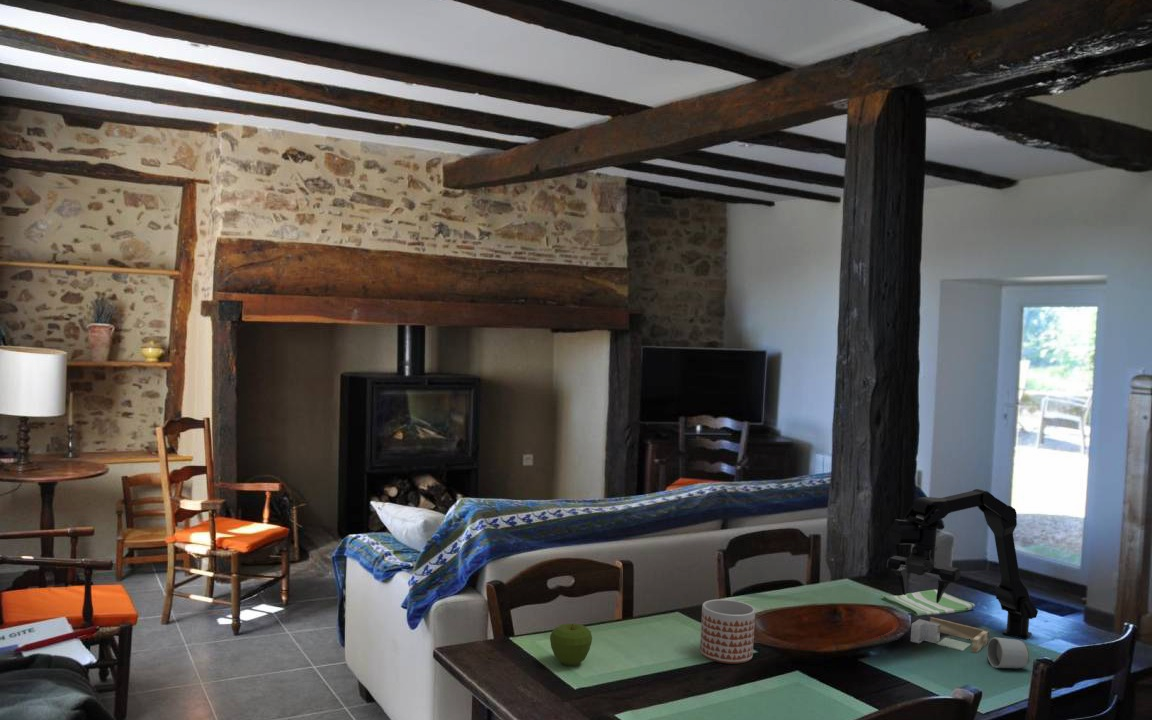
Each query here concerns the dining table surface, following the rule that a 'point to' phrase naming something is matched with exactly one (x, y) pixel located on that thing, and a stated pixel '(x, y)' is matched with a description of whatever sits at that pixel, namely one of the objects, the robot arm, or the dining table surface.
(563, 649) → the apple
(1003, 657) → the ceramic mug
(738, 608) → the planter
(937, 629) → the bracket
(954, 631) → the corner arena
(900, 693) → the dining table surface
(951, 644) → the pad
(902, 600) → the dish towel
